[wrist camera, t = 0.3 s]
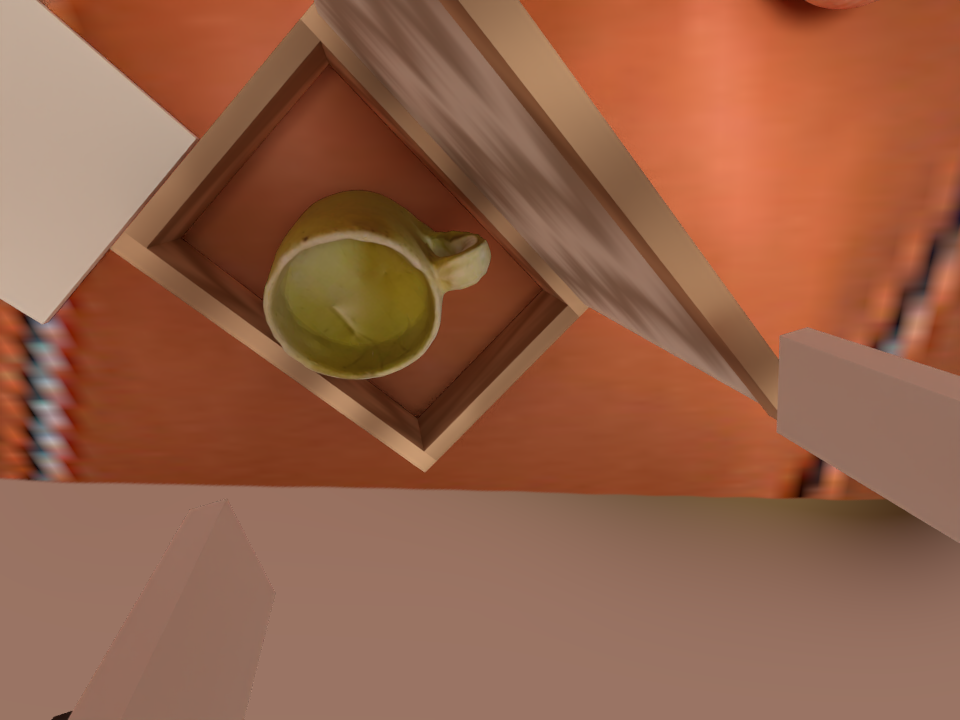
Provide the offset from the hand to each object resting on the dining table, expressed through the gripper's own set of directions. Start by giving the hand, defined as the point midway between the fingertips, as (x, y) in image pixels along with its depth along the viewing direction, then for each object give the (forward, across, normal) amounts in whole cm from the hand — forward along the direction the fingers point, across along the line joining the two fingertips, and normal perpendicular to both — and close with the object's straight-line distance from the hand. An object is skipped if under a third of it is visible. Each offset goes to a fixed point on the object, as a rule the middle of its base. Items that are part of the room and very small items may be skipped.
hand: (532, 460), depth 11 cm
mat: (+24, -21, +14) cm, 35 cm away
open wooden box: (+25, -3, +2) cm, 25 cm away
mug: (+25, -3, +2) cm, 25 cm away
